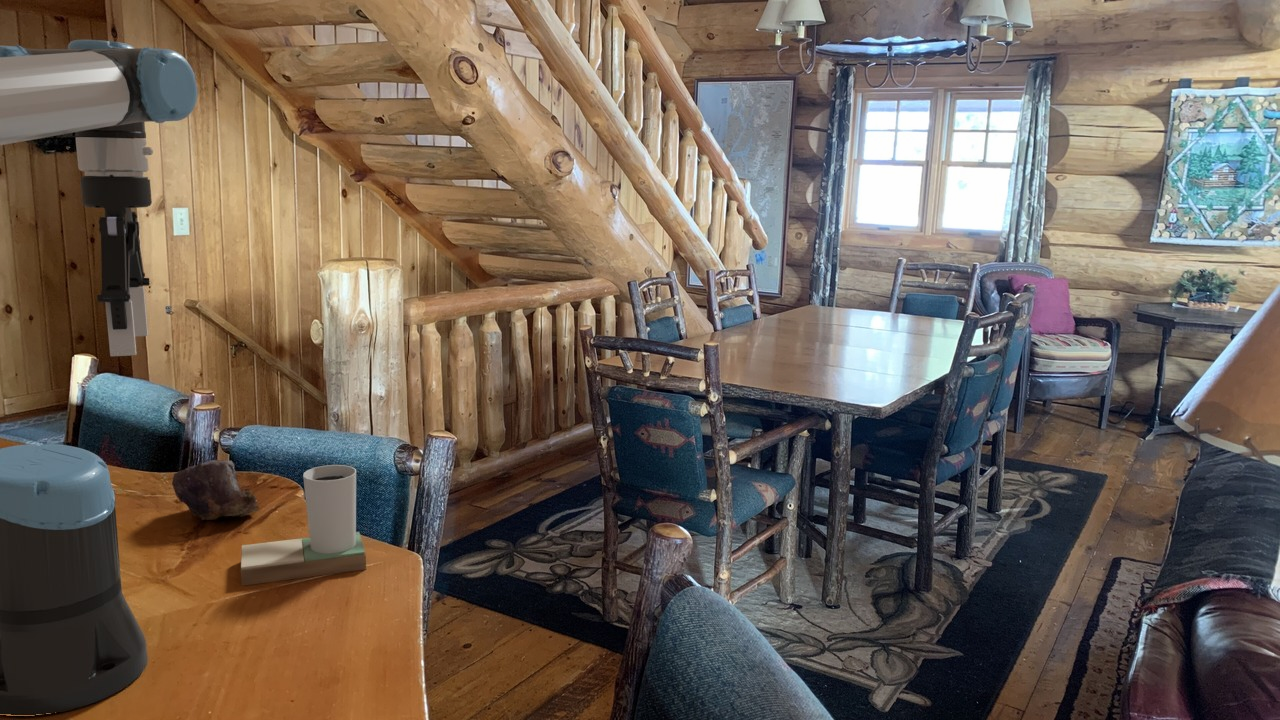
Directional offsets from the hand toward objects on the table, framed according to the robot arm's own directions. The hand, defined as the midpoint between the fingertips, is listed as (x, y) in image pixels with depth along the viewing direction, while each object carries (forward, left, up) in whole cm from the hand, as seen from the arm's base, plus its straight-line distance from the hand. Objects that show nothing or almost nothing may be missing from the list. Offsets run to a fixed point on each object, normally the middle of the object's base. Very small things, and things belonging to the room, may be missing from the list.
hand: (130, 345), depth 120 cm
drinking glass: (-9, -23, -27) cm, 36 cm away
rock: (+14, -7, -29) cm, 33 cm away
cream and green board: (-9, -19, -29) cm, 36 cm away
